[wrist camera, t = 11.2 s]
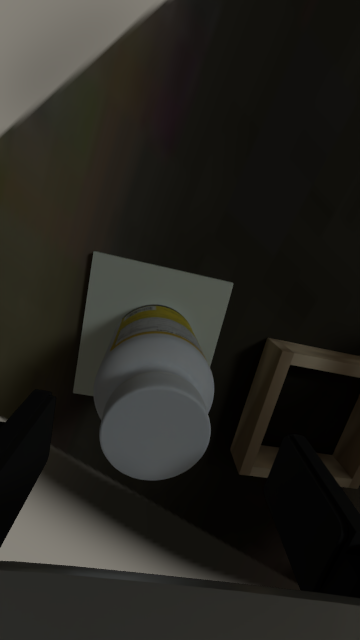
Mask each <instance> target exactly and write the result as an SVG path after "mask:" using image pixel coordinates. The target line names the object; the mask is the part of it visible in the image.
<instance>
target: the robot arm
mask: <svg viewBox="0 0 360 640" xmlns="http://www.w3.org/2000/svg"><path fill="white" fill-rule="evenodd" d="M55 403H56V397H54V396H52V393H51V392H49V391H43V390H37V389H35V390H34V391H33V392H32V393H31V394H30V395H29V396H28V398H27V399H26V400H25V401H24V402H23V403H22V404H21V405H20V407H19V408H18V409H17V410H16V411H15V412H14V413H13V414H12V416H11V417H10V418H9V419H8V420H7V421H6V422H0V547H1V545H2V543H3V541H4V540H5V538H6V536H7V534H8V532H9V530H10V529H11V527H12V525H13V523H14V521H15V519H16V518H17V516H18V514H19V512H20V510H21V508H22V507H23V505H24V503H25V501H26V499H27V497H28V495H29V494H30V492H31V490H32V488H33V486H34V484H35V483H36V481H37V479H38V477H39V475H40V473H41V472H42V470H43V468H44V466H45V464H46V462H47V459H48V456H49V450H50V443H51V435H52V427H53V419H54V411H55ZM264 496H265V498H266V501H267V504H268V506H269V509H270V512H271V514H272V517H273V519H274V522H275V525H276V527H277V530H278V532H279V535H280V538H281V540H282V543H283V546H284V548H285V551H286V553H287V556H288V559H289V561H290V564H291V566H292V569H293V572H294V574H295V577H296V580H297V582H298V585H299V587H300V590H301V591H300V590H291V589H283V588H274V587H265V586H256V585H248V584H239V583H229V582H220V581H211V580H201V579H192V578H182V577H174V576H165V575H154V574H144V573H136V572H126V571H115V570H106V569H95V568H86V567H76V566H64V565H52V564H40V563H26V562H15V561H0V640H360V514H359V512H358V511H357V510H356V508H355V507H354V505H353V504H352V503H351V501H350V500H349V498H348V497H347V495H346V494H345V493H344V491H343V490H342V488H341V487H340V486H339V484H338V483H337V481H336V480H335V478H334V477H333V476H332V474H331V473H330V471H329V470H328V469H327V467H326V466H325V464H324V463H323V461H322V460H321V459H320V457H319V456H318V454H317V453H316V452H315V450H314V449H313V447H312V446H311V444H310V443H309V442H308V440H307V439H306V438H305V437H304V436H302V435H296V434H288V435H287V436H286V437H284V438H283V440H282V443H281V445H280V448H279V450H278V453H277V455H276V458H275V460H274V463H273V465H272V468H271V470H270V473H269V475H268V478H267V480H266V483H265V485H264Z"/></svg>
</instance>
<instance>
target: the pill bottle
mask: <svg viewBox="0 0 360 640" xmlns="http://www.w3.org/2000/svg"><path fill="white" fill-rule="evenodd" d="M93 395H94V403H95V407H96V410H97V413H98V415H99V417H100V419H101V425H100V431H99V439H100V444H101V448H102V451H103V453H104V455H105V456H106V458H107V459H108V461H109V462H110V463H111V464H112V465H113V466H114V467H115V468H116V469H117V470H119V471H120V472H122V473H123V474H126V475H128V476H130V477H133V478H137V479H141V480H163V479H168V478H171V477H174V476H177V475H179V474H181V473H183V472H185V471H187V470H188V469H190V468H191V467H192V466H193V465H194V464H196V463H197V462H198V460H199V459H200V458H201V457H202V456H203V454H204V452H205V451H206V449H207V446H208V444H209V440H210V434H211V426H210V419H209V416H208V413H209V411H210V408H211V405H212V402H213V397H214V381H213V376H212V372H211V370H210V367H209V365H208V363H207V360H206V358H205V356H204V354H203V352H202V349H201V347H200V345H199V343H198V341H197V339H196V337H195V335H194V333H193V330H192V328H191V326H190V324H189V323H188V321H187V320H186V319H185V318H184V317H183V316H182V315H181V314H180V313H179V312H178V311H176V310H174V309H172V308H170V307H168V306H164V305H158V304H149V305H144V306H140V307H138V308H135V309H134V310H132V311H130V312H129V313H128V314H126V315H125V316H124V317H123V318H122V320H121V321H120V322H119V324H118V325H117V327H116V329H115V332H114V334H113V337H112V339H111V342H110V344H109V346H108V348H107V351H106V353H105V355H104V358H103V360H102V363H101V365H100V367H99V369H98V372H97V375H96V378H95V382H94V390H93Z"/></svg>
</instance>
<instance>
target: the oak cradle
mask: <svg viewBox="0 0 360 640" xmlns="http://www.w3.org/2000/svg"><path fill="white" fill-rule="evenodd" d="M290 365H295V366H300V367H305V368H311V369H316V370H321V371H327V372H332V373H337V374H343V375H348V376H353V377H358V378H360V356H356V355H351V354H346V353H341V352H336V351H331V350H326V349H321V348H316V347H311V346H306V345H301V344H296V343H291V342H286V341H281V340H276V339H272V338H267V340H266V343H265V346H264V349H263V352H262V355H261V358H260V361H259V364H258V367H257V370H256V373H255V376H254V379H253V382H252V385H251V388H250V391H249V394H248V397H247V400H246V403H245V406H244V409H243V412H242V415H241V418H240V421H239V424H238V427H237V430H236V433H235V436H234V439H233V442H232V445H231V448H230V451H231V454H232V456H233V459H234V462H235V465H236V468H237V470H238V473H239V474H240V475H248V476H256V477H265V478H268V475H269V473H270V470H271V468H272V465H273V463H274V460H275V458H276V455H277V453H278V450H279V448H278V447H271V446H264V445H261V443H262V440H263V437H264V435H265V432H266V429H267V427H268V424H269V421H270V418H271V416H272V413H273V410H274V407H275V405H276V402H277V399H278V397H279V394H280V391H281V388H282V386H283V383H284V380H285V377H286V375H287V372H288V369H289V366H290ZM317 454H318V456H319V457H320V459H321V460H322V461H323V463H324V464H325V466H326V467H327V469H328V470H329V471H330V473H331V474H332V476H333V477H334V478H335V480H336V481H337V483H338V484H339V486H340V487H347V488H356V489H358V487H359V485H360V395H359V397H358V399H357V402H356V404H355V406H354V408H353V410H352V413H351V415H350V417H349V419H348V422H347V424H346V426H345V428H344V430H343V433H342V435H341V437H340V439H339V441H338V444H337V446H336V448H335V450H334V453H333V455H329V454H321V453H317Z"/></svg>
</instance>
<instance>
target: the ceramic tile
mask: <svg viewBox="0 0 360 640" xmlns="http://www.w3.org/2000/svg"><path fill="white" fill-rule="evenodd" d="M233 284H234V283H232V282H228V281H224V280H219V279H215V278H211V277H206V276H202V275H198V274H193V273H189V272H185V271H180V270H176V269H171V268H167V267H163V266H158V265H154V264H150V263H145V262H141V261H136V260H132V259H128V258H123V257H119V256H115V255H110V254H106V253H101V252H97V251H94V252H93V259H92V266H91V273H90V280H89V286H88V293H87V300H86V307H85V314H84V321H83V327H82V334H81V341H80V348H79V355H78V362H77V368H76V375H75V382H74V389H73V393H76V394H82V395H89V396H94V395H93V390H94V382H95V378H96V375H97V372H98V369H99V367H100V365H101V363H102V360H103V358H104V355H105V353H106V351H107V348H108V346H109V344H110V342H111V339H112V337H113V334H114V332H115V329H116V327H117V325H118V324H119V322H120V321H121V320H122V318H123V317H124V316H125V315H126V314H128V313H129V312H130V311H132V310H134V309H135V308H138V307H140V306H144V305H149V304H158V305H164V306H168V307H170V308H172V309H174V310H176V311H178V312H179V313H180V314H181V315H182V316H183V317H184V318H185V319H186V320H187V321H188V323H189V324H190V326H191V328H192V330H193V333H194V335H195V337H196V339H197V341H198V343H199V345H200V347H201V349H202V352H203V354H204V356H205V358H206V360H207V363H208V365H209V367H210V365H211V361H212V358H213V354H214V351H215V347H216V344H217V340H218V337H219V333H220V330H221V326H222V323H223V319H224V316H225V312H226V309H227V305H228V302H229V298H230V295H231V291H232V288H233Z"/></svg>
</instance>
